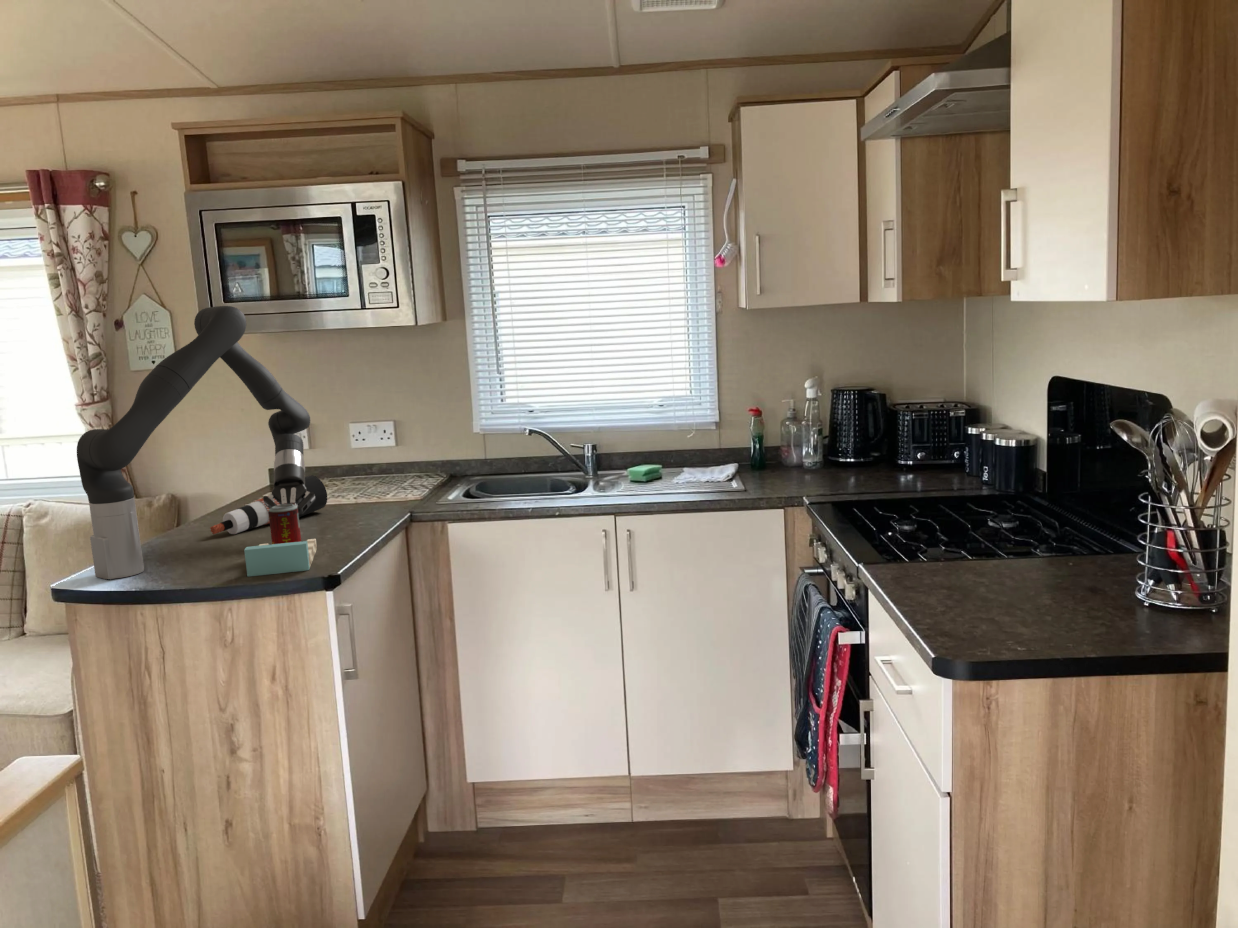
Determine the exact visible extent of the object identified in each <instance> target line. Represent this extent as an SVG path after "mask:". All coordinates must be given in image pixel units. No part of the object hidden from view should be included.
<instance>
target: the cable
mask: <svg viewBox="0 0 1238 928" xmlns="http://www.w3.org/2000/svg"><path fill="white" fill-rule="evenodd" d="M305 487H306V489H307V491H308V492H314V494H315V501H314V502H313V503H312V504H311V505H310V506H309V508H308V509H307V510H306V511H305V512H304V513H303V514H301V515H300V514H298V515H299V518H301V517H303V516H306V515H308V514H312V513H314V512H317V511H319V510H321V509H324V508H325V507H326V505H327V503H328V491H327V489H326V486H325V485H324V483H323V481H321V479H320V478H319V477H317V476H316V475H313V474H311V475H307V476H305ZM266 496H267V497H268V496H269V495H266ZM304 499H305V497H304V498H303V499H302V500H301V501H300V503H301V502H302V501H303V500H304ZM274 503H275V504H276V505H281V504H279V503H278V502H277V501H276V500H275V499H274ZM300 503H298V505H299V504H300ZM297 507H298V506H297ZM268 511H269V508H268V507H267V506H266V505H265V503H264V500H263V497H262V498H259V499H256V500H254V501H253V502H251V503H248V504H246V505H244V506H243V505H242V506H241V507H237V508H236V509H233V510H231V511H228V512H225V514H223V516H222V521H221V522H220V523H216V524H214V525H212V526H210V527H209V529H210V532H211V533H212V534H213V535H215V534H218V533H221V532H227V533H229V534H230V535H236V534H239V533H242V532H244V531H245V532H246V531H249V530H251V529H254V528H257V527H260V526H265V525H269V524H270V521H269V514H268Z"/></svg>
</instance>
